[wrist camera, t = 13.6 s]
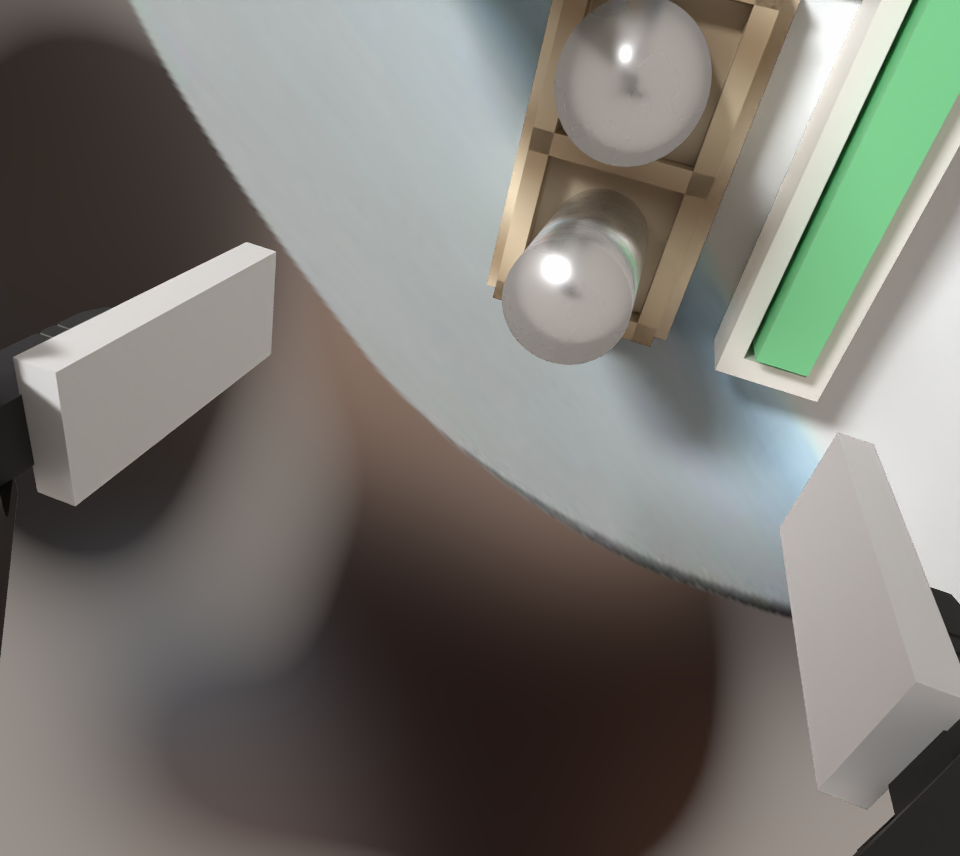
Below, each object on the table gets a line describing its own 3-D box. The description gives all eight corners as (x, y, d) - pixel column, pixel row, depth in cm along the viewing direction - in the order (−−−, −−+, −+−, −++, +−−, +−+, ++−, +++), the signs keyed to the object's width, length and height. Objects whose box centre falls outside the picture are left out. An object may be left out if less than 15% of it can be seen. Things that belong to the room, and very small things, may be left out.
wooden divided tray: (573, -65, 30) (562, -74, 28) (800, -10, 29) (809, -15, 27) (493, 276, 39) (479, 293, 36) (667, 330, 38) (664, 351, 35)
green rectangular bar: (922, -41, 27) (953, -51, 24) (986, -26, 27) (1027, -35, 23) (750, 329, 35) (755, 360, 32) (797, 344, 35) (807, 376, 32)
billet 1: (612, -7, 30) (578, -24, 21) (727, 21, 29) (737, 16, 21) (579, 116, 32) (537, 144, 24) (683, 145, 32) (677, 184, 23)
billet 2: (566, 175, 34) (521, 220, 25) (664, 206, 33) (652, 264, 25) (537, 270, 37) (488, 340, 28) (627, 301, 36) (605, 381, 28)
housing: (901, -90, 27) (930, -108, 24) (1033, -61, 27) (1081, -75, 23) (713, 339, 37) (715, 370, 34) (806, 368, 37) (817, 402, 33)
